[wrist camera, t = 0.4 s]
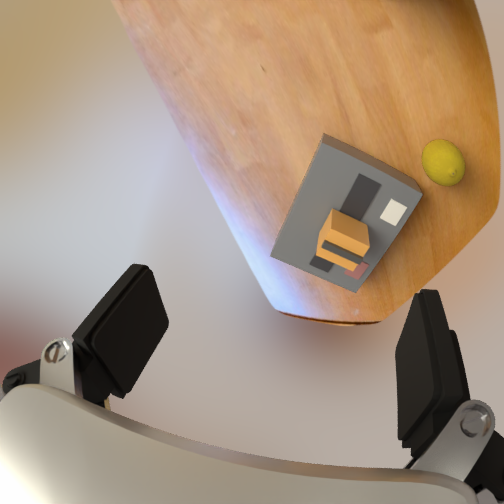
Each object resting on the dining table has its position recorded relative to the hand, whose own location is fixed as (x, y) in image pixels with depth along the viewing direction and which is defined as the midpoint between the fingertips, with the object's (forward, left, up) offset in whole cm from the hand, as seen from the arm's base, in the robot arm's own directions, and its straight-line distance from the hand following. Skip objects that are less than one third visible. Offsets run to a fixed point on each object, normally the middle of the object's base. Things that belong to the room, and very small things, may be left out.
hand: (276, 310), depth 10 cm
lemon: (-4, +15, -33) cm, 36 cm away
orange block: (+10, +7, -27) cm, 30 cm away
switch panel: (+10, +7, -33) cm, 35 cm away
